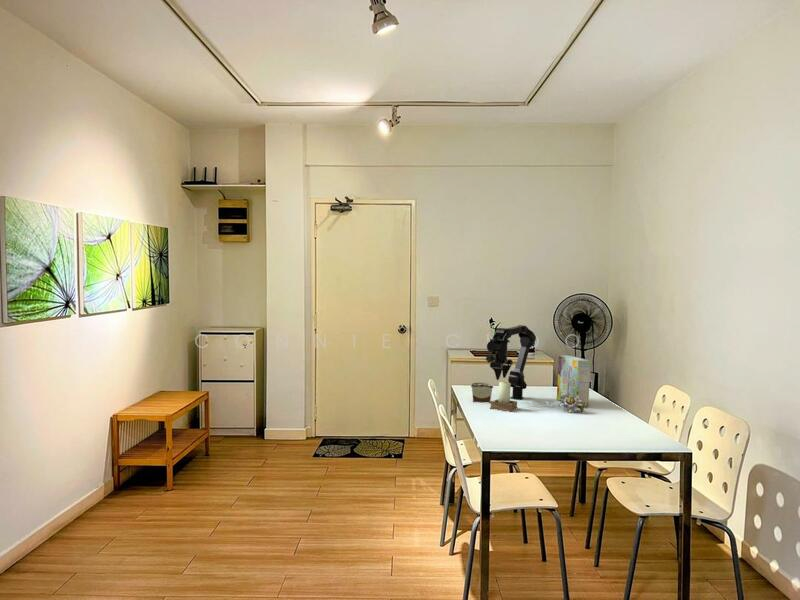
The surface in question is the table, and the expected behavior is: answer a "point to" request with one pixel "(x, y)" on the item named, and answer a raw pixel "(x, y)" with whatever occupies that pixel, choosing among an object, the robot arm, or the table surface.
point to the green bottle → (504, 392)
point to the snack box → (574, 378)
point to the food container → (481, 392)
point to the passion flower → (571, 402)
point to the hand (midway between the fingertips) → (500, 378)
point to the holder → (504, 405)
